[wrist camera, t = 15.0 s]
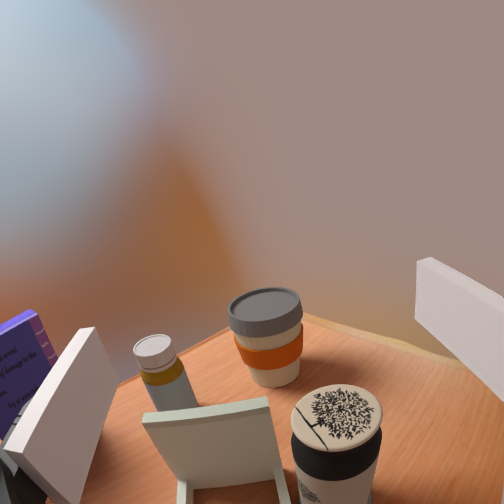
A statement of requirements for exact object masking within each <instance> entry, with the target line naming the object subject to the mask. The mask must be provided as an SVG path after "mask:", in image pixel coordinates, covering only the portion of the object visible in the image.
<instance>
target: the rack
mask: <svg viewBox="0 0 504 504" xmlns="http://www.w3.org/2000/svg"><path fill="white" fill-rule="evenodd" d="M142 424H143V426H144V428H145V429H146V431H147V433H148V434H149V436H150V438H151V439H152V441H153V443H154V444H155V446H156V448H157V449H158V451H159V452H160V454H161V455H162V457H163V458H164V460H165V462H166V463H167V465H168V466H169V468H170V469H171V470H172V472H173V473H174V475H175V476H176V478H177V479H178V484H177V502H176V504H193V490H194V489H205V488H216V487H226V486H234V485H241V484H248V483H255V482H261V481H266V480H272V479H275V482H276V486H277V491H278V496H279V501H280V504H291V502H290V497H289V493H288V489H287V485H286V480H285V476H284V472H283V467H282V463H281V459H280V454H279V450H278V445H277V441H276V436H275V432H274V427H273V423H272V418H271V414H270V409H269V404H268V400H267V396H264V397H259V398H254V399H249V400H243V401H238V402H232V403H226V404H219V405H213V406H206V407H198V408H190V409H182V410H173V411H162V412H151V413H144V415H143V419H142Z"/></svg>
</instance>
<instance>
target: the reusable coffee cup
mask: <svg viewBox="0 0 504 504" xmlns="http://www.w3.org/2000/svg"><path fill="white" fill-rule="evenodd" d="M302 316H303V311H302V306H301V302H300V299H299V296H298V294H297V293H296V292H295V291H293V290H291V289H287V288H282V287H267V288H260V289H256V290H252V291H249V292H246V293H244V294H241V295H240V296H238V297H236V298H235V299H233V300H232V301H231V302H230V304H229V305H228V318H229V326H230V328H231V330H232V331H234V334H235V335H234V340H235V343H236V345H237V348H238V350H239V352H240V355H241V357H242V360H243V361H244V363H245V364H246V365H247V366H248V368H249V371H250V373H251V375H252V378H253V380H254V381H255V382H256V383H257V384H258V385H260V386H263V387H268V388H275V387H281V386H284V385H287V384H289V383H291V382H292V381H293V380H295V379H296V377H297V376H298V374H299V370H300V355H301V353H302V349H303V325H302V323H301V318H302Z"/></svg>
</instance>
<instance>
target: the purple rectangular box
mask: <svg viewBox="0 0 504 504" xmlns="http://www.w3.org/2000/svg"><path fill="white" fill-rule="evenodd" d="M57 360H58V357H57V355H56V353H55V351H54V349H53V347H52V345H51V343H50V341H49V339H48V336H47V334H46V332H45V330H44V327H43V325H42V323H41V320H40V318H39V316H38V314H37V313H36V312H34V311H33V310H30V309H28V310H27V311H25V312H23V313H21V314H19V315H17V316H16V317H14V318H12V319H10V320H8V321H6V322H5V323H3V324H1V325H0V439H1V440H2V441H3V440H4V438H5V436H6V434H7V433H8V431H9V429H10V427H11V426H12V425H14V424H13V422H14V421H15V419H16V417H18V414H19V412H20V411H21V409H22V408H23V406H24V405H25V404H26V403H27V402H28V401H29V400H30V399H31V398H32V397H33V396H35V394H36V392H37V391H38V389H39V388H40V386H41V384H42V383H43V381H44V380H45V378H46V377H47V375H48V374H49V372H50V371H51V369H52V368H53V366H54V365H55V363H56V362H57Z"/></svg>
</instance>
